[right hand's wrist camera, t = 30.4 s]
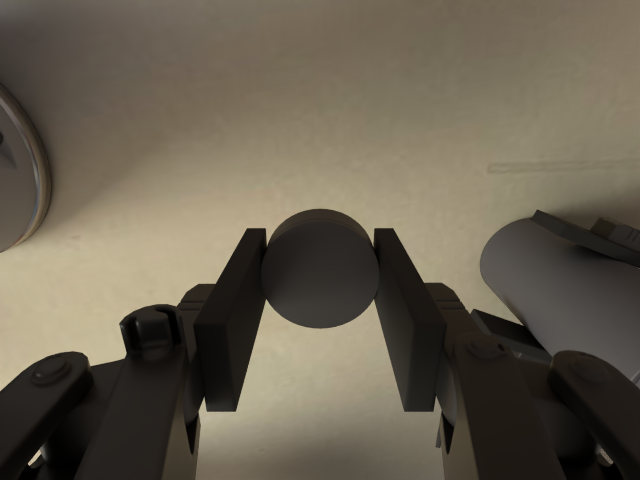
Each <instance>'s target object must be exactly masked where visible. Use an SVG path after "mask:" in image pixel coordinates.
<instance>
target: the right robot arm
mask: <svg viewBox="0 0 640 480" xmlns="http://www.w3.org/2000/svg"><path fill="white" fill-rule="evenodd" d="M50 193H51V178H50V169H49V165H48V160H47V157H46V153H45V150H44V148H43V145H42V143H41V140H40V138H39V136H38V134H37V132H36V130H35V128H34V126H33V125H32V123H31V121H30V120H29V118H28V116H27V115H26V114H25V112H24V111H23V109H22V108H21V106H20V105H19V104H18V103H17V102H16V100H15V99H14V98H13V97H12V96H11V95H10V94H9V92H8V91H7V90H6V89H5V88H4V87H3V86H2V85H1V84H0V253H1V252H3V251H6V250H8V249H10V248H12V247H14V246H16V245H18V244H19V243H21V242H23V241H24V240H26V239H27V238H28V237H29V236H30V235H32V233H33V232H34V231H35V230H36V229H37V228H38V226H39V225H40V224H41V222H42V220H43V218H44V216H45V214H46V211H47V209H48V205H49V200H50ZM266 248H267V241H266V228H247V229H246V231H245V233H244V235H243V237H242V238H241V240H240V242H239V244H238V245H237V247H236V249H235V251H234V252H233V254H232V256H231V258H230V260H229V261H228V263H227V265H226V267H225V268H224V270H223V272H222V274H221V275H220V277H219V279H218V281H217V283H216V284H198V285H196V286H195V287H193V288H192V289H190V290H189V291H187V292H186V294H185V295H184V297H183V298H182V300H181V302H180V303H179V304H178V305H177V307H176V306H173V305H168V304H156V305H151V306H147V307H143V308H141V309H138V310H136V311H133V312H132V313H130V314H129V315H127V316H126V317H124V319H123V320H122V321H121V322H120V323H119V324H120V328H121V332H122V336H123V340H124V344H125V348H126V352H127V354H126V357H125V359H121V360H118V361H114V362H109V363H104V364H99V365H95V366H90V364H89V361H88V357H87V356H85V355H84V354H83V353H80V352H74V351H72V352H63V353H58V354H55V355H51V356H48V357H45V358H44V359H42V360H40V361H38V362H35V363H34V364H32V365H31V366H29V367H28V368H27V369H25V370H24V371H22V372H21V373H20V374H19V375H18V376H17V377H16V378H15V379H14V380H12V381H11V382H10V383H9V384H8V385H7V386H6V387H5V388H3V389H2V390H1V391H0V480H195V476H196V467H197V457H198V447H199V437H200V427H201V424H200V418H199V412H198V411H199V409H200V406H201V404H202V401H203V398H204V397H205V403H206V409H207V412H236V409H237V405H238V402H239V398H240V394H241V390H242V387H243V383H244V379H245V376H246V372H247V368H248V364H249V361H250V357H251V353H252V350H253V346H254V342H255V338H256V335H257V331H258V327H259V324H260V320H261V316H262V312H263V309H264V305H265V301H266V297H265V295H264V293H263V290H262V283H261V263H262V260H263V257H264V254H265V251H266ZM373 248H374V251H375V254H376V256H377V259H378V263H379V268H380V272H379V286H378V290H377V293H376V295H375V298H374V301H375V304H376V308H377V312H378V315H379V319H380V323H381V326H382V330H383V334H384V338H385V341H386V345H387V349H388V352H389V356H390V360H391V364H392V367H393V371H394V375H395V378H396V382H397V386H398V390H399V393H400V397H401V401H402V404H403V408H404V412H433V411H434V404H435V398H436V396H437V399H438V401H439V404H440V406H441V409H442V412H441V418H440V423H439V429H438V435H437V441H436V447H438V448H440V446H442V456H443V466H444V475H445V480H640V389H639V388H638V387H637V386H636V385H635V384H634V383H633V382H632V381H630V380H629V379H628V378H627V377H626V376H625V375H624V374H623V373H621V372H620V371H619V370H618V369H617V368H615V367H614V366H612V365H611V364H610V363H608V362H607V361H604V360H602V359H600V358H598V357H596V356H594V355H592V354H589V353H585V352H581V351H573V350H564V351H558V352H557V353H556V354H555V355H554V356H553V358H552V362H551V365H548V364H543V363H539V362H534V361H529V360H524V359H521V358H517V357H515V356H514V354H513V352H512V351H511V349H510V348H509V346H508V345H506V344H505V343H504V342H502V341H501V340H500V339H497V338H495V337H493V336H491V335H488V334H484V333H483V332H482V331H481V329H480V328H479V327H478V325H477V324H476V322H475V321H474V319H473V318H472V317H471V315H470V314H469V312H468V311H467V310H465V306H464V305H463V304H462V302H460V299H459V298H458V296H457V295H456V294H455V292H454V291H453V290H452V289H450V288H449V287H447V286H446V285H444V284H443V283H424V282H423V280H422V279H421V277H420V275H419V273H418V272H417V270H416V268H415V266H414V264H413V263H412V261H411V259H410V257H409V256H408V254H407V252H406V250H405V249H404V247H403V245H402V243H401V241H400V240H399V238H398V236H397V234H396V233H395V231H394V229H393V228H375V229H374V245H373ZM601 447H602V449H603V450H604V451H605V452H606V453H607V455H608V456H609V457H610V458H611V460H612V461H613V464H612V465H611V464H610V463H609V462H608V461H606V460H605V458H604V457H603V456H602V455H601V453H600V450H601ZM39 449H40V451H41V455H40V456H39V457H38V458H37V460H36V461H35V462H33V463H32V464H31V465H30V466H29V465H28V463H29V461H30V460H31V459H32V458H33V456H34V455H35V454H36V453H37V452H38V450H39Z"/></svg>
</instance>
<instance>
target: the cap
mask: <svg viewBox="0 0 640 480" xmlns="http://www.w3.org/2000/svg"><path fill="white" fill-rule="evenodd" d="M379 272H380V268H379V263H378V259H377V256H376V254H375V251H374V248H373V245H372V242H371V240H370V238H369V236H368V234H367V233H366V231H365V230H364V229H363V228H362V226H361V225H360V224H359V223H357V222H356V221H355V220H354V219H352V218H351V217H349V216H347V215H345V214H343V213H341V212H337V211H334V210H329V209H311V210H306V211H303V212H300V213H297V214H295V215H293V216H291V217H289V218H288V219H286V220H285V221H284V222H283V223H282V224H280V225H279V227H278V228H277V229H276V230H275V231H274V233H273V235H272V236H271V238H270V240H269V243H268V246H267V248H266V251H265V254H264V257H263V260H262V263H261V283H262V290H263V293H264V295H265V297H266V299H267V301H268V302H269V304H270V305H271V306H272V307H273V309H274V310H275V311H276V312H277V313H279V314H280V315H281V316H282V317H284V318H285V319H287V320H289V321H291V322H293V323H295V324H298V325H301V326H304V327H309V328H331V327H336V326H340V325H343V324H345V323H348V322H350V321H351V320H353V319H355V318H356V317H358V316H359V315H361V314H362V313H363V312H364V311H365V310H366V309H367V308H368V306H369V305H370V304H371V302H372V301H373V299H374V298H375V295H376V293H377V290H378V286H379Z"/></svg>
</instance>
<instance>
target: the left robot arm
mask: <svg viewBox="0 0 640 480" xmlns="http://www.w3.org/2000/svg"><path fill="white" fill-rule="evenodd" d="M531 221H533V222H534V223H536V224H538V225H540V226H541V227H543V228H545V229H547V230H548V231H550V232H552V233H554V234H555V235H557V236H559V237H562V238H564V239H567V240H569V241H572V242H574V243H577V244H580V245H582V246H585V247H587V248H590V249H592V250H595V251H597V252H600V253H602V254H605V255H607V256H610V257H612V258H615V259H617V260H620V261H622V262H625V263H628V264H630V265H633V266H635V267H638V268H640V230H637V229H634V228H632V227H630V226H627V225H625V224H622V223H620V222H617V221H615V220H613V219H610V218H599V219H598V220H597V221H596V223H595V224H594V226H593V227H592V228H591V230H590V231H589V230H586V229H584V228H581V227H579V226H577V225H574V224H572V223H569V222H567V221H564V220H562V219H559V218H557V217H554V216H552V215H549V214H547V213H544V212H542V211H539V210H537V211H536V212H535V214H534V215H533V217H532V219H531ZM470 315H471V317H472V318H473V319H474V321H475V322H476V324H477V325H478V327H479V328H480V329H481V331H482V332H483V333H484V334H488V335H491V336H493V337H495V338H497V339H500V340H501V341H502V342H504V343H505V344H506V345H508V346H509V348H510V349H511V351H512V352H513V354H514V356H515V357H517V358H521V359H524V360H529V361H534V362H539V363H543V364H548V365H551V362H552V358H553V357H552V356H551V355H550V354H549V353H548V351H547V350H546V349H545V348H544V347H543V346H542V345H541V344H540V343H539V342H538V340H537V339H536V338H535V337H534V336H533V335H532V334H531V333H530V332H529V331H528V329H527V328H526V327H525V326H523V325H520V324H517V323H514V322H511V321H508V320H505V319H502V318H499V317H497V316H494V315H491V314H488V313H485V312H482V311H479V310H476V309H473V311H472V312H471V314H470Z"/></svg>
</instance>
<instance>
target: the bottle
mask: <svg viewBox="0 0 640 480" xmlns="http://www.w3.org/2000/svg"><path fill="white" fill-rule="evenodd" d="M531 219H532V218H529V219H522V220H518V221H515V222H512V223H510V224H508V225H506V226H505V227H503V228H502V229H500V230H499V231H498V232H496V233H495V234H494V235H493V236H492V238H491V239H490V240H489V241H488V243H487V244H486V246H485V248H484V250H483V252H482V255H481V260H480V271H481V275H482V278H483V280H484V281H485V283H486V284H487V285H488V286H489V288H490V289H491V290H492V291H493V292H494V293H495V294H496V295H497V296H498V297H499V299H500V300H501V301H502V302H503V303H504V304H505V305H506V306H507V307H508V308H509V310H510V311H511V312H512V313H513V314H514V315H515V316H516V317H517V318H518V319H519V321H520V322H521V323H522V324H523V325H524V326H525V327H526V328H527V329H528V331H529V332H530V333H531V334H532V335H533V336H534V337H535V338H536V339H537V340H538V342H539V343H540V344H541V345H542V346H543V347H544V348H545V349H546V350H547V351H548V353H549V354H550V355H551V356H552V357H553V356H554V355H555V354H556V353H557V352H558V351H564V350H573V351H581V352H585V353H589V354H592V355H594V356H596V357H598V358H600V359H602V360H604V361H607V362H608V363H610V364H611V365H612V366H614V367H615V368H617V369H618V370H619V371H620V372H621V373H623V374H624V375H625V376H626V377H627V378H628V379H629V380H630V381H632V382H633V383H634V384H635V385H636V386H637V387H638V388H639V389H640V269H638V268H636V267H634V266H633V265H630V264H628V263H625V262H622V261H620V260H617V259H615V258H612V257H610V256H607V255H605V254H602V253H600V252H597V251H595V250H592V249H590V248H587V247H585V246H582V245H580V244H577V243H574V242H572V241H569V240H567V239H564V238H562V237H559V236H557V235H555V234H554V233H552V232H550V231H548V230H547V229H545V228H543V227H541V226H540V225H538V224H536V223H534V222H533V221H531Z"/></svg>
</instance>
